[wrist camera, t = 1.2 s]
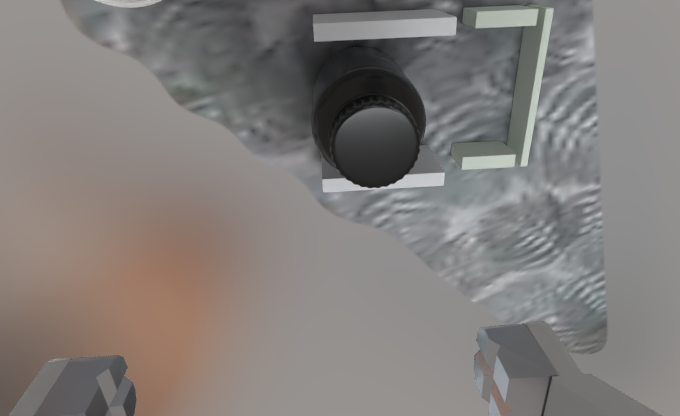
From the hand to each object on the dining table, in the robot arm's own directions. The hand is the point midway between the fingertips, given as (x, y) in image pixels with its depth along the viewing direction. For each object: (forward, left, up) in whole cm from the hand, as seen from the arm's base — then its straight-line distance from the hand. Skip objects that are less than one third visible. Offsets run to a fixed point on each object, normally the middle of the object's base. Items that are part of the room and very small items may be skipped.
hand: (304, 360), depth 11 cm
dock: (+1, +13, -26) cm, 30 cm away
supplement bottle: (0, +4, -27) cm, 27 cm away
